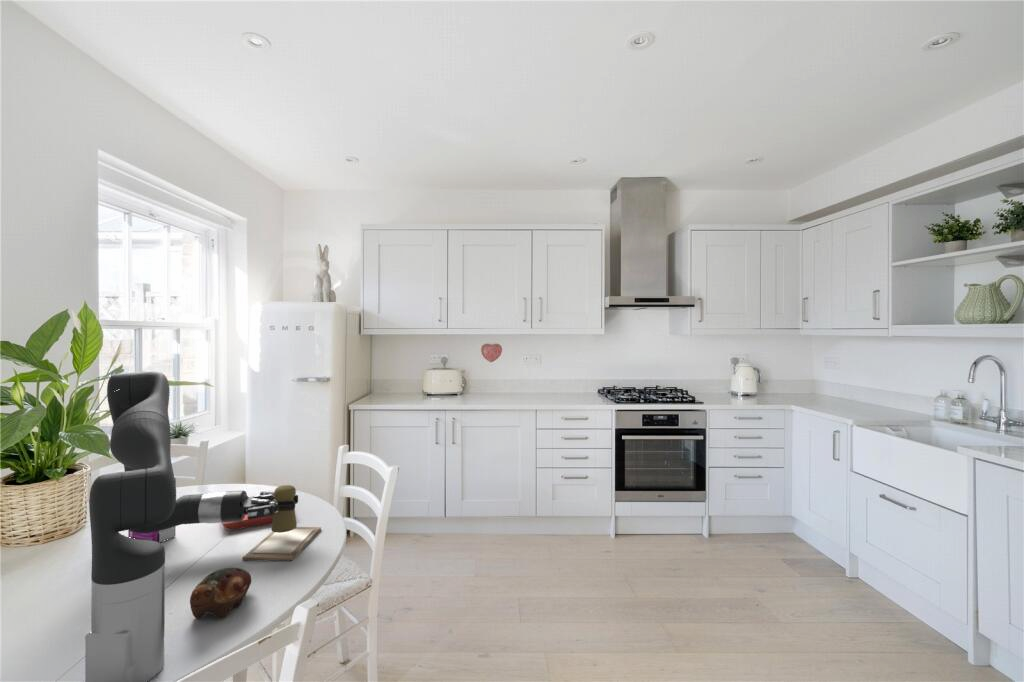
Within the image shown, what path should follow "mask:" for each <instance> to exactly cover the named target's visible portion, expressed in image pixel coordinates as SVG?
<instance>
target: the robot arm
mask: <svg viewBox="0 0 1024 682" xmlns="http://www.w3.org/2000/svg"><path fill="white" fill-rule="evenodd" d="M106 384H107V386H106V396H107V404H108V409H109V412H110V416H111V420H112V425H113V426H112V428H111V433H110V441H109V449H110V452H111V454H112V457H114V458H115V459H116V460H117V462H119V463H120V464H122V465H123V468H124V471H119V472H112V473H111V472H110V473H105V474H101V475H99V476H98V477H96V478H95V480H93V482H92V484H91V487H90V490H89V500H88V504H89V505H88V509H89V522H90V524H89V525H90V534H91V535H90V536H91V573H90V575H91V591H90V592H91V596H90V597H91V602H90V603H91V604H90V605H91V606H90V607H91V609H90V611H91V612H90V615H91V619H90V620H91V621H90V623H91V624H90V628H91V629H90V631H89V632H88V633H87V634H86V635H85V648H84V649H85V654H84V655H85V657H84V658H85V659H84V660H85V666H84V667H85V669H84V673H85V675H84V676H85V677H84V679H85V680H84V681H85V682H146V681H148V682H149V681H151V680H153V678H155V677H156V676H157V675H158V674H159V673H160V672H161V670H162V669H163V667H164V665H165V625H166V623H165V621H166V620H165V615H166V611H165V609H166V608H165V607H166V606H165V605H166V604H165V602H166V600H165V596H166V595H165V594H166V593H165V592H166V590H165V589H166V584H165V583H166V580H165V579H166V550H165V546H164V545H163V544H162V543H158V542H155V541H150V540H140V539H133V538H129V537H128V536H126V535H124V534H122V533H120V532H124V531H131V532H134V533H152V532H156V531H160V530H164V529H168V528H172V527H175V526H176V527H177V526H181V525H191V524H192V525H194V524H220V523H221V524H222V523H223V522H237V521H242V520H243V519H244V517H245V515H248V519H255V518H261V517H266V516H272V515H274V513H277V512H279V511H286V510H294V509H296V505H297V504H298V503H299V495H297V494H295V496H294V498H293V499H294V501H285V502H276V499H275V497H274V491H260V492H259V494H256V495H253V496H248V493H247V491H245V490H231V491H214V492H209V493H199V494H197V493H195V494H186V495H185V494H184V495H181V496H180V497H178V498H177V485H175V478H176V477H175V474H174V469H173V464H172V458H171V444H172V443H171V440H172V439H171V438H172V435H171V434H172V433H171V426H170V425H171V423H170V417H169V404H170V393H171V392H170V391H171V390H170V383H169V380H168V378H167V376H166V375H165V374H164V373H163V372H161V371H157V370H148V371H146V370H145V371H136V372H132V371H131V372H123V373H115V374H112V375H111V376H110V377H109V379H108V380H107V383H106ZM118 389H120V390H118ZM116 390H118V391H116ZM114 391H115V392H114ZM264 510H265V511H264ZM158 672H159V673H158ZM157 673H158V674H157ZM156 674H157V675H156ZM155 675H156V676H155Z"/></svg>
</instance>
